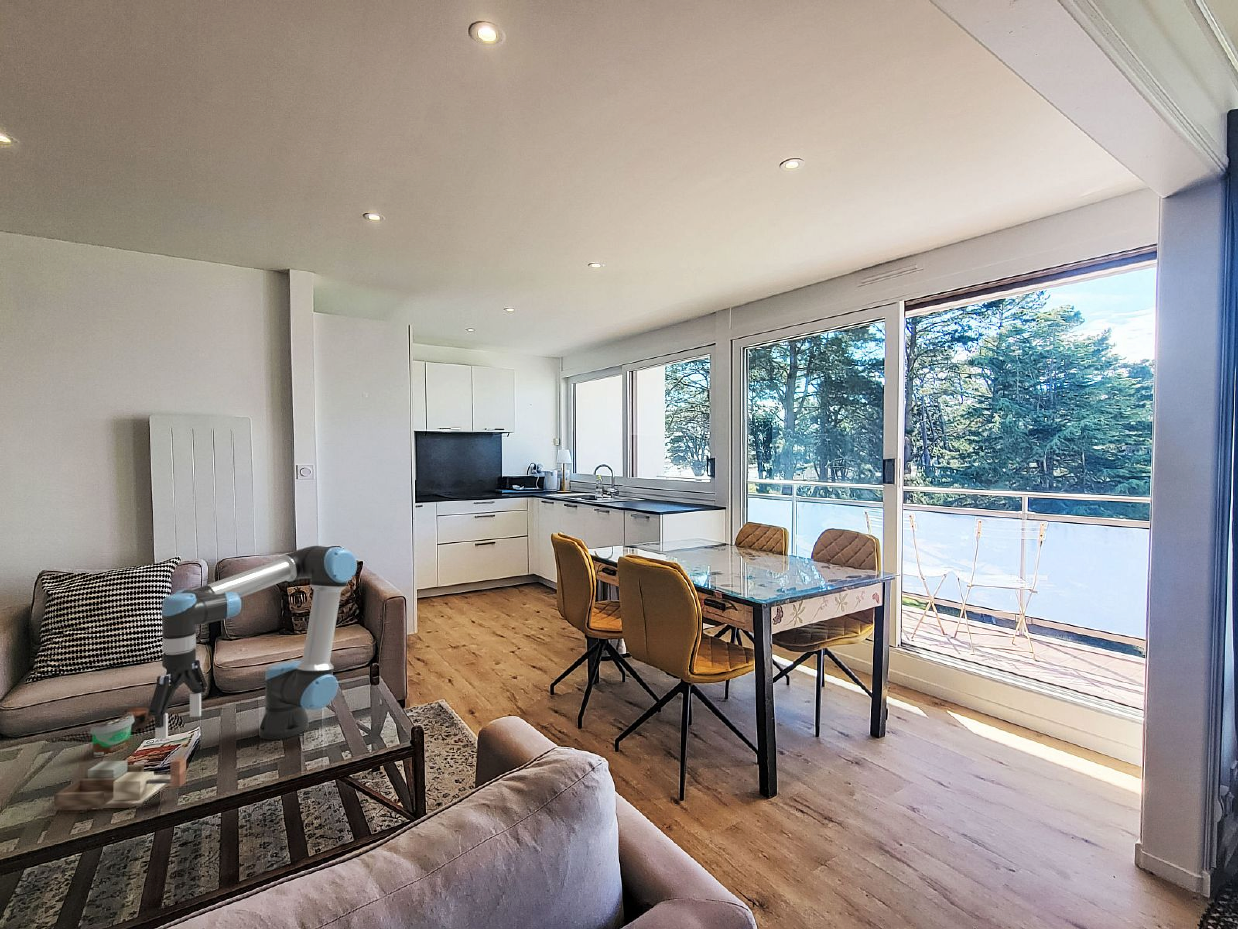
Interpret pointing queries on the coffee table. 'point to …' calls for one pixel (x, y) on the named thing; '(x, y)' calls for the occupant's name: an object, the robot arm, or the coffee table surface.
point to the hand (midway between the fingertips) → (179, 726)
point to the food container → (112, 735)
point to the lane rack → (102, 788)
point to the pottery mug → (138, 717)
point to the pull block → (148, 781)
